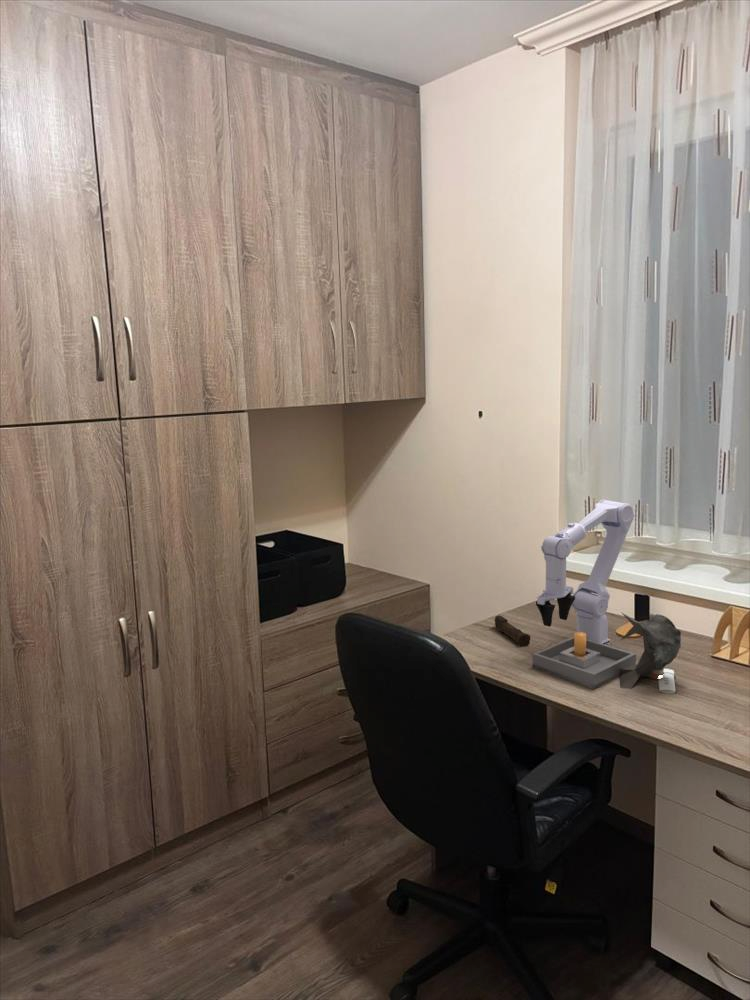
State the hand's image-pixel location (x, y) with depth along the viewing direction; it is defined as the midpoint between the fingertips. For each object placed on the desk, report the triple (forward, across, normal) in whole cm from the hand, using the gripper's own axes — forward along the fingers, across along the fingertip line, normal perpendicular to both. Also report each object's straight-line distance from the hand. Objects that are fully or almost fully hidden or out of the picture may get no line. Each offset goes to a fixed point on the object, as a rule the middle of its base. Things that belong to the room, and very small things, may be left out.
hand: (555, 622), depth 220 cm
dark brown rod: (+10, -1, -18) cm, 21 cm away
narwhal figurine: (+10, -3, +28) cm, 30 cm away
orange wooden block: (+8, +2, +10) cm, 13 cm away
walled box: (+9, +3, +12) cm, 16 cm away
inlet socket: (+9, +2, +10) cm, 14 cm away
